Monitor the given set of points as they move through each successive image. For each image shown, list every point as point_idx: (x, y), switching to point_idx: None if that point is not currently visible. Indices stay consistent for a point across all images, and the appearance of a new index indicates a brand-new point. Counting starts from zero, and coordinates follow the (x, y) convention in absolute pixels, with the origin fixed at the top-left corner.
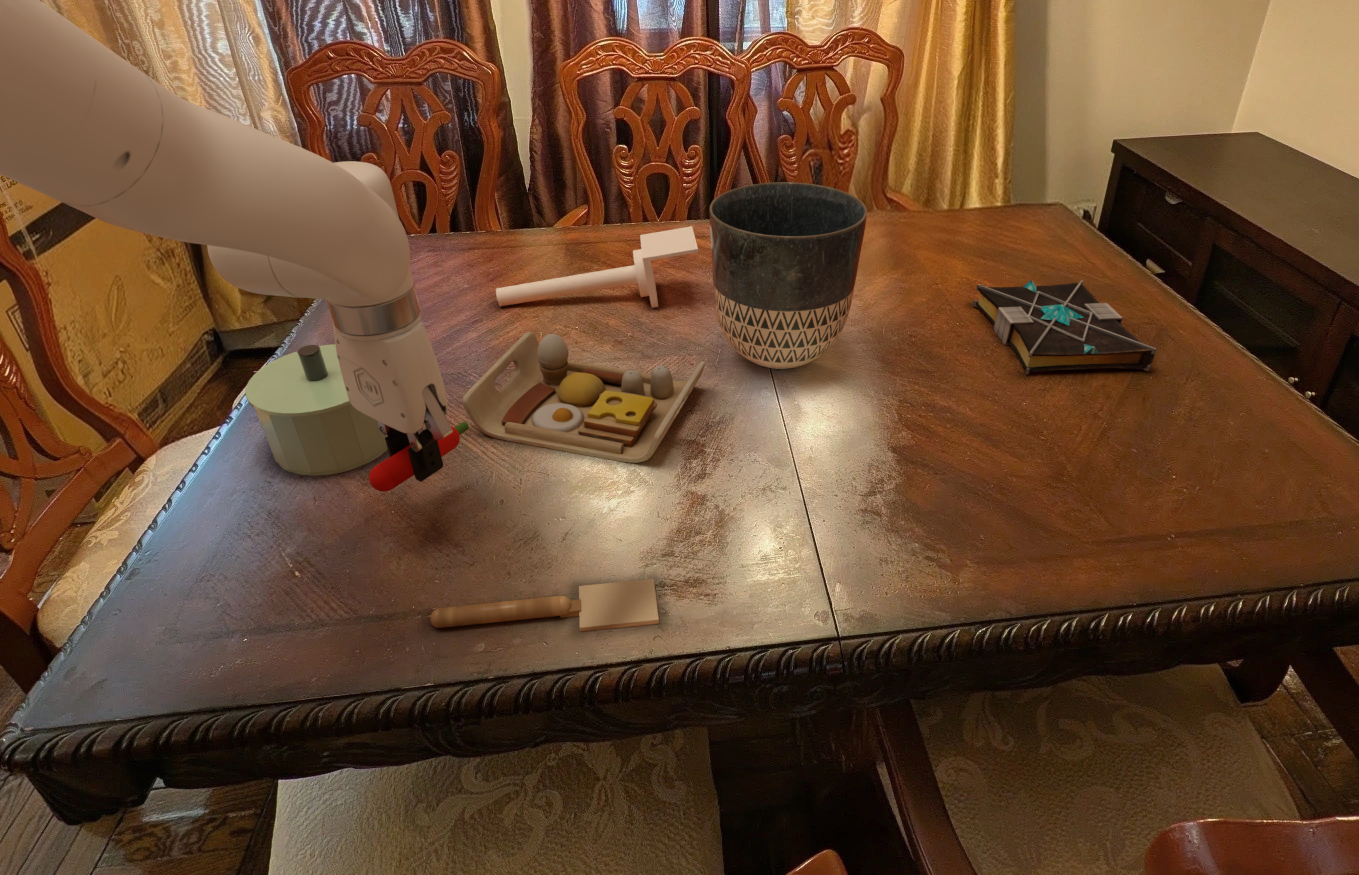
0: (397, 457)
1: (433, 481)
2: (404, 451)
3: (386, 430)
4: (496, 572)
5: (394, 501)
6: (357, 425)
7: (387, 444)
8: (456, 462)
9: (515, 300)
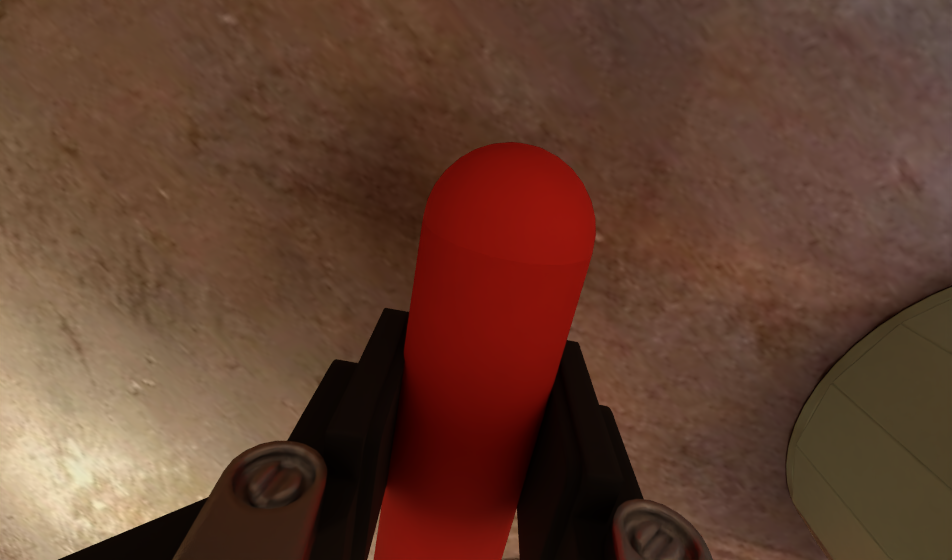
0: (471, 371)
1: None
2: (474, 428)
3: (616, 551)
4: (104, 139)
5: (625, 276)
6: (941, 504)
7: (597, 440)
8: None
9: None
